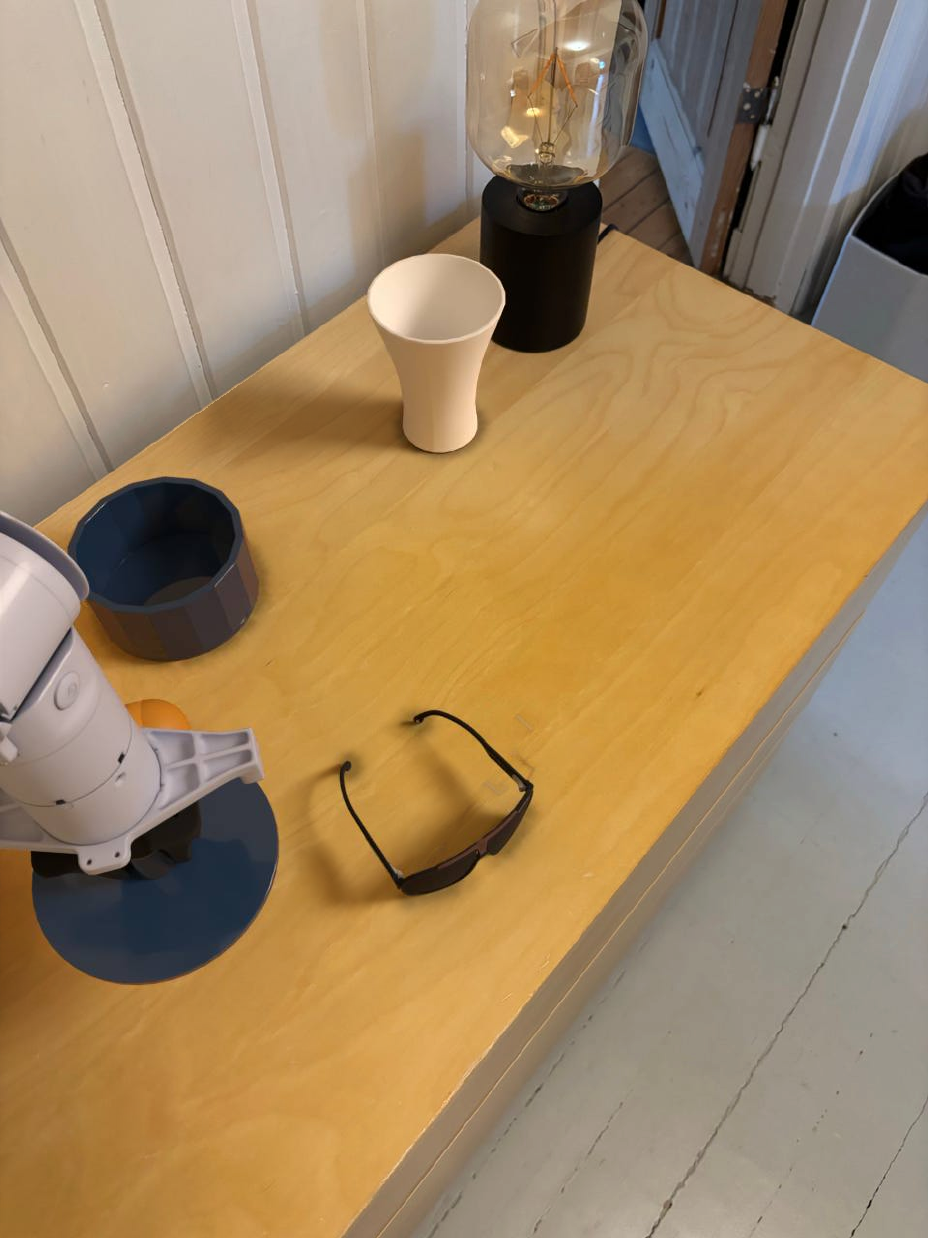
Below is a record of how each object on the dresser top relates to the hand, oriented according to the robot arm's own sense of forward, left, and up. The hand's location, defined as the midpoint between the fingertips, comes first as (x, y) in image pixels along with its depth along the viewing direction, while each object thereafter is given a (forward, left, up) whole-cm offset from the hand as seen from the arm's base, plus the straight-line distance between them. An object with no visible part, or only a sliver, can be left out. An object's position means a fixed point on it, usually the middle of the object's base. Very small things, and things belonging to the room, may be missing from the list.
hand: (152, 852), depth 51 cm
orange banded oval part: (-2, +12, -10) cm, 16 cm away
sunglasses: (+16, +2, -10) cm, 19 cm away
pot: (+2, +24, -10) cm, 26 cm away
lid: (0, 0, -1) cm, 1 cm away
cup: (+26, +36, -10) cm, 45 cm away
